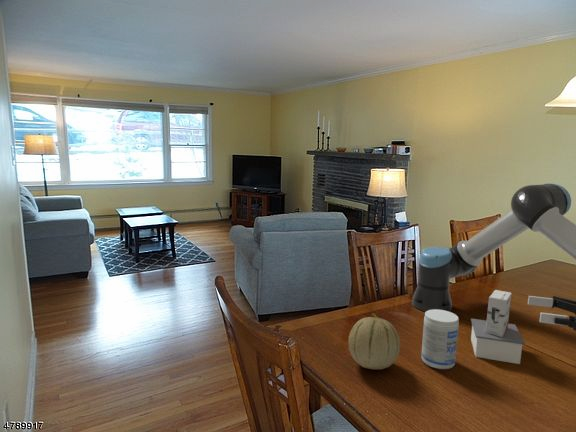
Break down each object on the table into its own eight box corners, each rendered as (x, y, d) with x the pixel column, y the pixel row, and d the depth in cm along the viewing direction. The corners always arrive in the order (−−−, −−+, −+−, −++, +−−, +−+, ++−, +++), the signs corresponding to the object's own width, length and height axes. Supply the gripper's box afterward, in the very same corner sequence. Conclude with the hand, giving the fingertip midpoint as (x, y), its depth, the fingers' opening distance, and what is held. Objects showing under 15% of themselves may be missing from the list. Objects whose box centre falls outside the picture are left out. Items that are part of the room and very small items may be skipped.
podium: (473, 357, 119) (475, 335, 118) (469, 338, 131) (471, 318, 130) (522, 365, 115) (524, 343, 114) (512, 344, 127) (515, 324, 126)
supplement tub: (452, 374, 110) (457, 325, 107) (417, 365, 115) (421, 317, 112) (456, 358, 118) (461, 312, 116) (424, 350, 123) (427, 306, 120)
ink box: (491, 323, 127) (494, 288, 125) (508, 327, 124) (512, 292, 122) (484, 332, 120) (488, 296, 118) (502, 337, 117) (506, 300, 115)
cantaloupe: (361, 384, 105) (363, 332, 102) (339, 356, 119) (340, 310, 116) (409, 376, 109) (413, 325, 106) (382, 350, 123) (385, 305, 120)
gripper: (640, 352, 100) (544, 338, 106) (599, 314, 123) (522, 304, 130) (645, 324, 98) (547, 312, 105) (603, 291, 122) (525, 283, 128)
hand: (533, 308), depth 117 cm, fingers open, 13 cm apart
